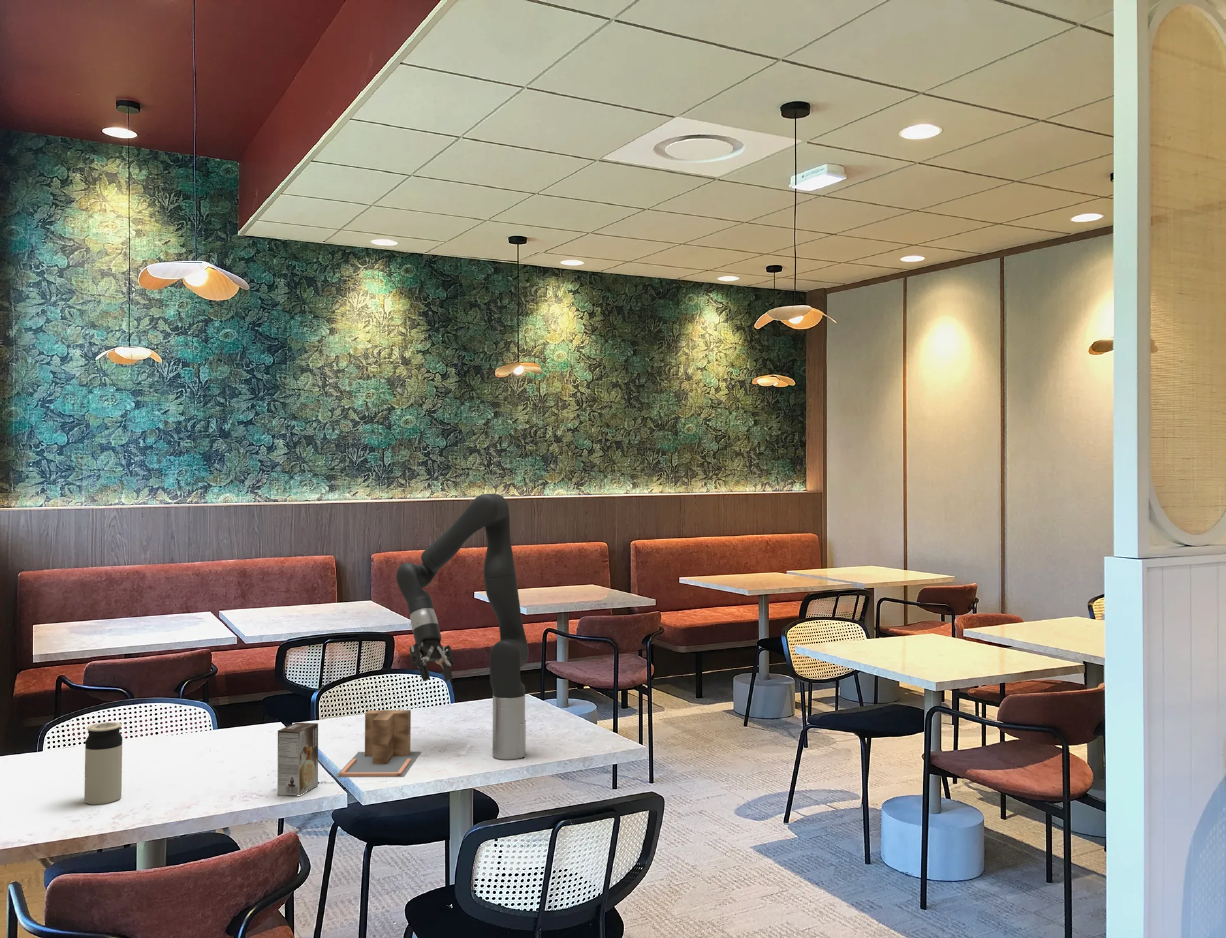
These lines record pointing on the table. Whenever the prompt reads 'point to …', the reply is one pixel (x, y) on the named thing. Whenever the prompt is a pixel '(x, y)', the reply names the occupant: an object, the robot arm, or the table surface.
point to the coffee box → (297, 758)
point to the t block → (387, 734)
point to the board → (378, 766)
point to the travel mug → (103, 763)
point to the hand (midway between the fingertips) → (437, 680)
